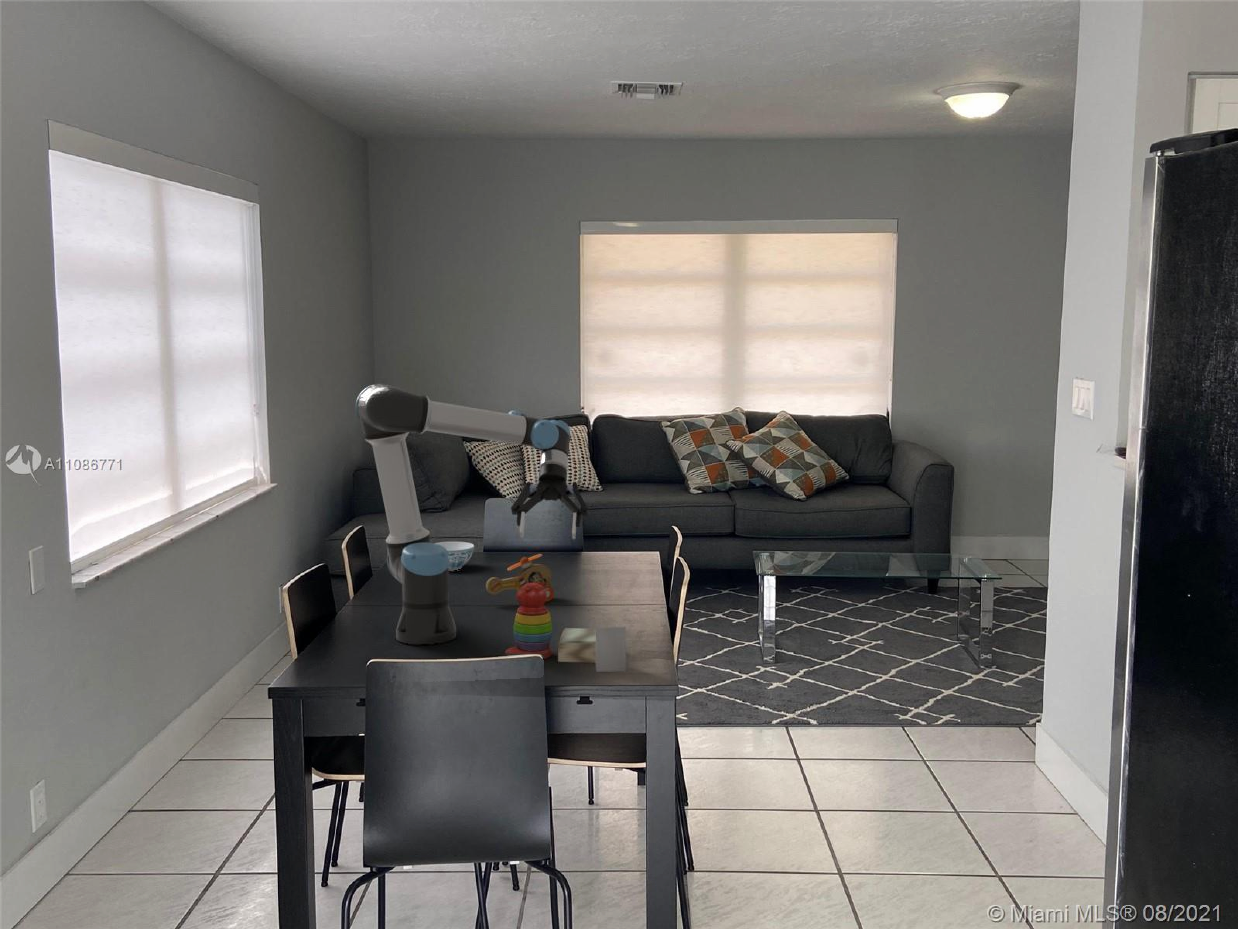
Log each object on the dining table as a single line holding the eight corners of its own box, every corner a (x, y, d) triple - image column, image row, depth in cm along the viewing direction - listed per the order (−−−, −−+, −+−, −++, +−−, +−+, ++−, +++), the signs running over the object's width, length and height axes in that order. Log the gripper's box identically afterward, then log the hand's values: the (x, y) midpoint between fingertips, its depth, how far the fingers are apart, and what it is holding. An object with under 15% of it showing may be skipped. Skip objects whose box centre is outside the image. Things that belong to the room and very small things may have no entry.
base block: (558, 661, 258) (558, 641, 257) (563, 647, 270) (563, 627, 269) (608, 663, 257) (608, 642, 256) (611, 648, 269) (612, 628, 268)
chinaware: (473, 573, 352) (472, 550, 351) (426, 574, 351) (426, 550, 350) (475, 564, 367) (475, 541, 366) (430, 564, 365) (430, 541, 365)
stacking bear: (530, 646, 270) (530, 576, 268) (562, 653, 265) (562, 581, 262) (501, 656, 262) (500, 584, 260) (533, 664, 256) (533, 590, 254)
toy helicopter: (557, 600, 317) (557, 554, 315) (493, 610, 306) (493, 562, 304) (544, 595, 324) (543, 549, 322) (480, 603, 312) (480, 557, 311)
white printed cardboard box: (625, 671, 251) (626, 629, 250) (596, 672, 250) (597, 629, 249) (624, 666, 255) (624, 625, 253) (595, 667, 254) (595, 625, 253)
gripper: (599, 479, 297) (596, 544, 284) (509, 478, 298) (501, 542, 285) (598, 462, 291) (594, 528, 278) (506, 461, 292) (497, 526, 279)
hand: (547, 535), depth 281 cm, fingers open, 13 cm apart
